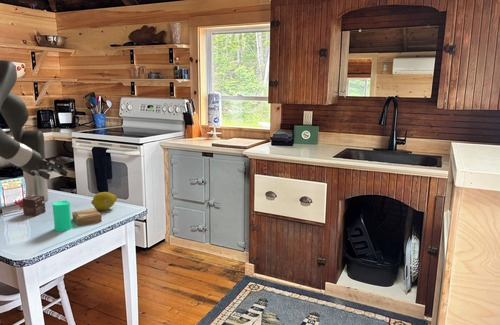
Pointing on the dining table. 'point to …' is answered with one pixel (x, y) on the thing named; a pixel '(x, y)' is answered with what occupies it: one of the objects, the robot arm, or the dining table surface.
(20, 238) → the dining table surface
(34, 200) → the box
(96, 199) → the lemon
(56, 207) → the candle
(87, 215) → the stand
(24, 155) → the robot arm
